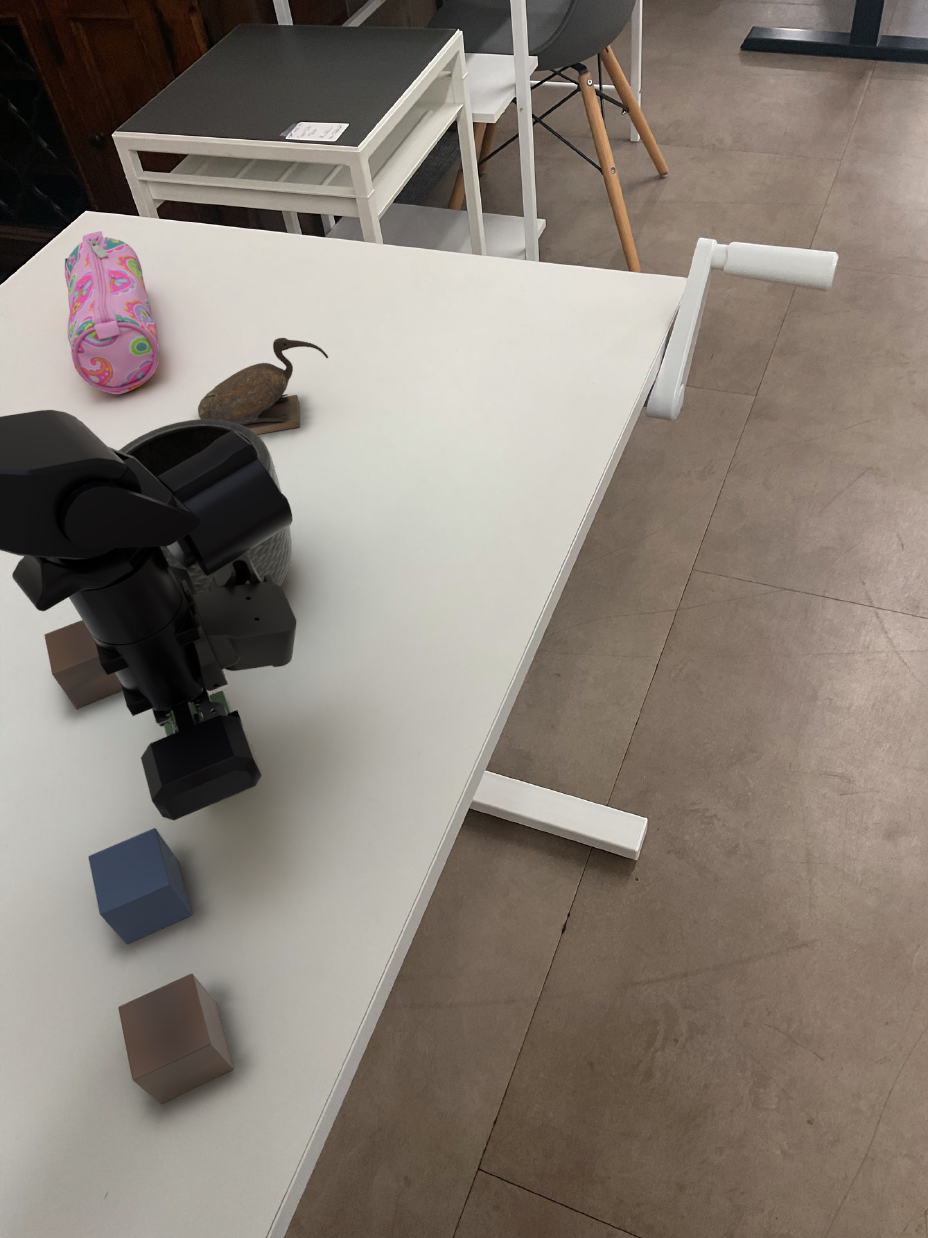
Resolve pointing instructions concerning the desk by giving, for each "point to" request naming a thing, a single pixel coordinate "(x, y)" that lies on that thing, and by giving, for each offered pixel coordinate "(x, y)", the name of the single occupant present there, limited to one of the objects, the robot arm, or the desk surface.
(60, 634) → the far walnut block
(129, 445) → the planter
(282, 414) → the figurine
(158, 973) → the desk surface
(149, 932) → the blue block
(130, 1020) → the near walnut block
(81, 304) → the pencil case
